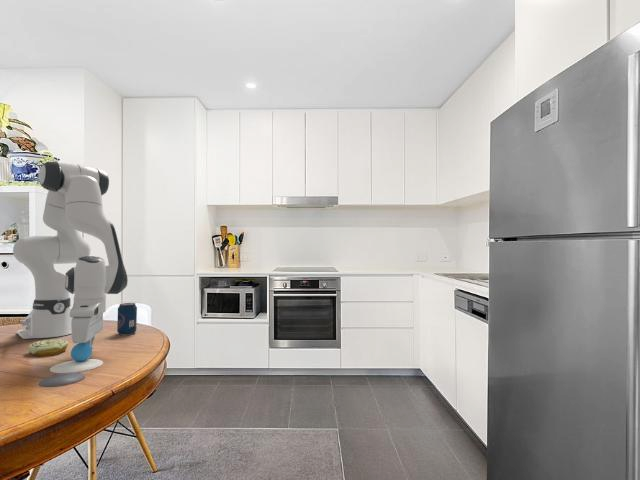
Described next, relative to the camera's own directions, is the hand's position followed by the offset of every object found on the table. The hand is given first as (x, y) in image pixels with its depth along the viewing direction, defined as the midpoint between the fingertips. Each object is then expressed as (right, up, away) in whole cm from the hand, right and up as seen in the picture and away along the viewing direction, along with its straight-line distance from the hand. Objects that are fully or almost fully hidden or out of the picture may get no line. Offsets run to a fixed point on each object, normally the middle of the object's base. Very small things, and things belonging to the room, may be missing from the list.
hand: (88, 350), depth 119 cm
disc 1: (+7, -1, -22) cm, 23 cm away
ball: (+1, +1, -6) cm, 6 cm away
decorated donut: (-16, -2, +4) cm, 16 cm away
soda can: (-4, -3, +32) cm, 33 cm away
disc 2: (+3, -1, -11) cm, 11 cm away
